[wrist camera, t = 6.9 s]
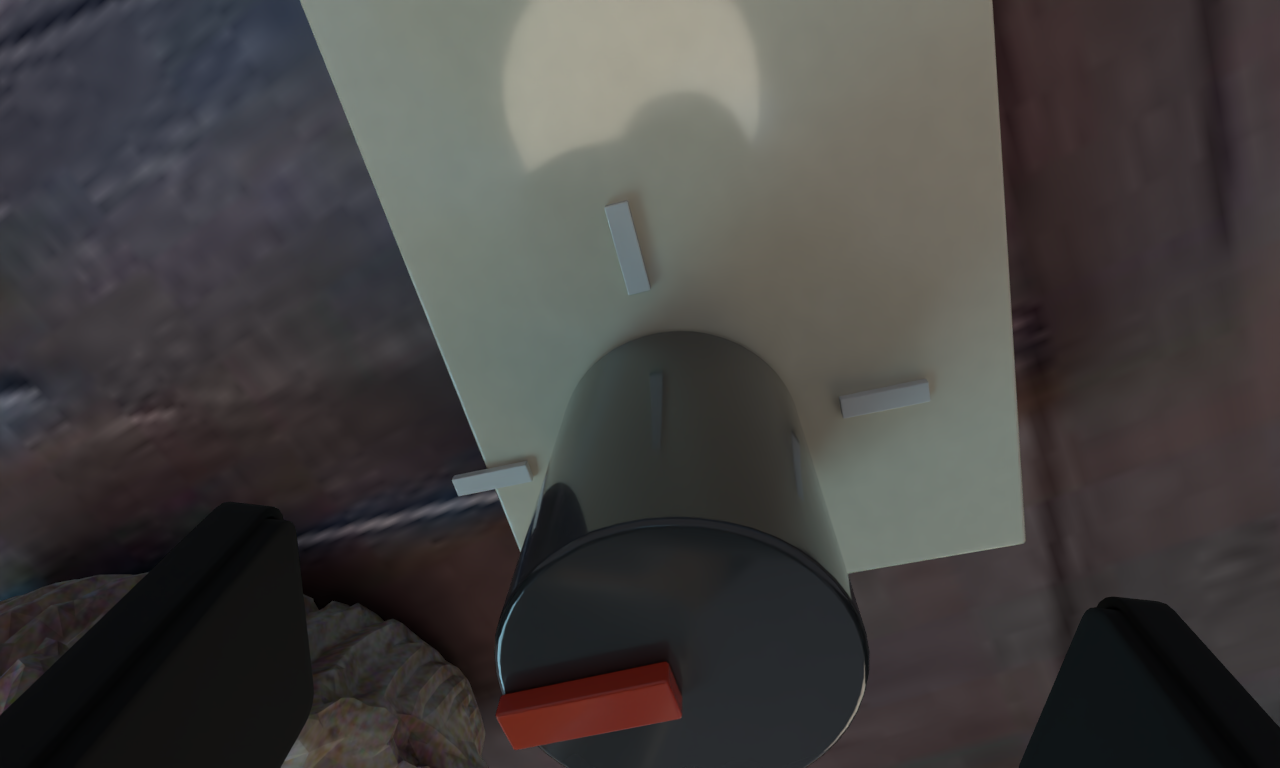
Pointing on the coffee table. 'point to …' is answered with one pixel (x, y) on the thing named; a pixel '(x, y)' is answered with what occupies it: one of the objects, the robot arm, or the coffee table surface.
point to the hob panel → (711, 226)
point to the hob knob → (680, 575)
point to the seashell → (341, 668)
